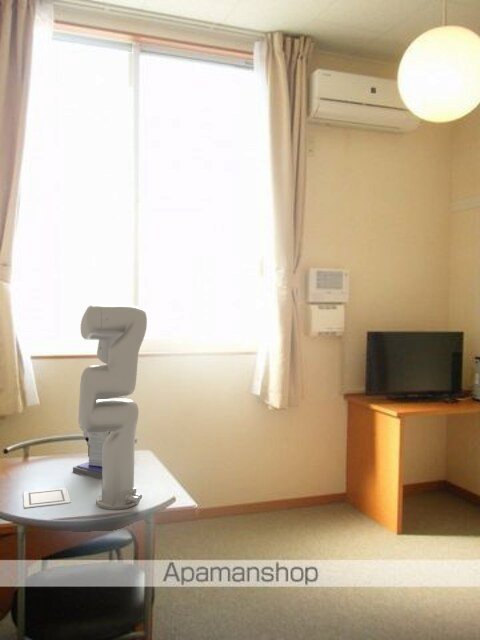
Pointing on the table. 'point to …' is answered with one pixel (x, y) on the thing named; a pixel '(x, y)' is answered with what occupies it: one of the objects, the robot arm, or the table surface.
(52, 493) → the marked card
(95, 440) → the supplement box
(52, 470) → the table surface
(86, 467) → the ink pad
